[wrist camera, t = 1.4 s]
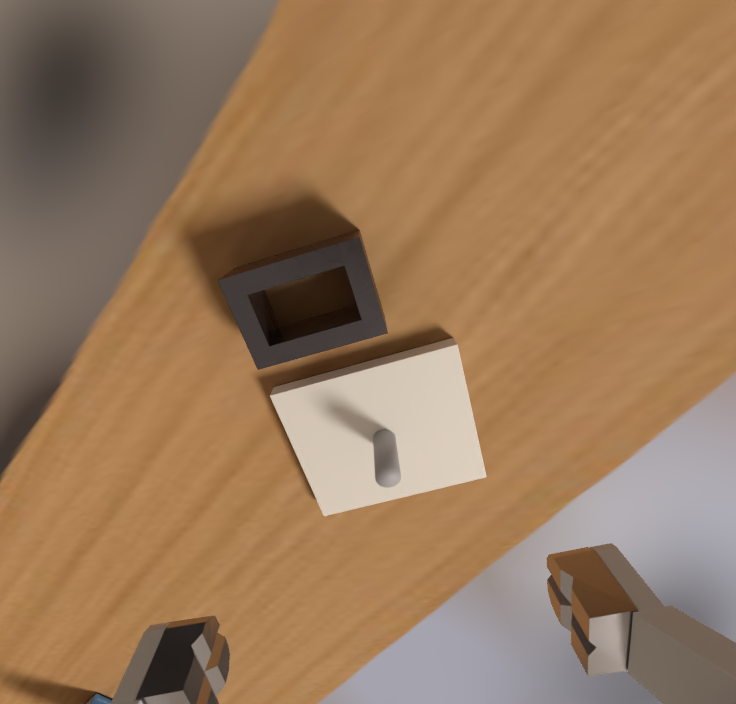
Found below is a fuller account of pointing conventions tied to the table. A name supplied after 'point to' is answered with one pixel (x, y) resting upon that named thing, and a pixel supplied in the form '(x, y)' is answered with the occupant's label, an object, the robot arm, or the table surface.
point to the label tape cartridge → (98, 700)
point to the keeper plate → (383, 427)
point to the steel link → (311, 334)
